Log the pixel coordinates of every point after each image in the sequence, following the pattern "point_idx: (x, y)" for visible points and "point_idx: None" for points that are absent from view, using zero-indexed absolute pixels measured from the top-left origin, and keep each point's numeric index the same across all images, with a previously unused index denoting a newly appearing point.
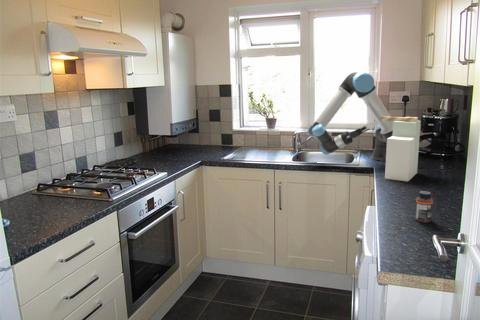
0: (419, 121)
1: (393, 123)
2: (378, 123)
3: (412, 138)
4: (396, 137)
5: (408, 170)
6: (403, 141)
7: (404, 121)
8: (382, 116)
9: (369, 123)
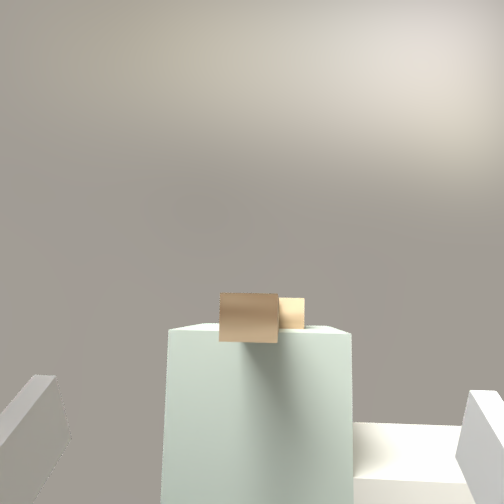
0: None
1: (351, 350)
2: (62, 427)
3: (380, 425)
4: (415, 460)
5: None
6: None
7: (303, 327)
8: (225, 293)
9: (501, 410)
